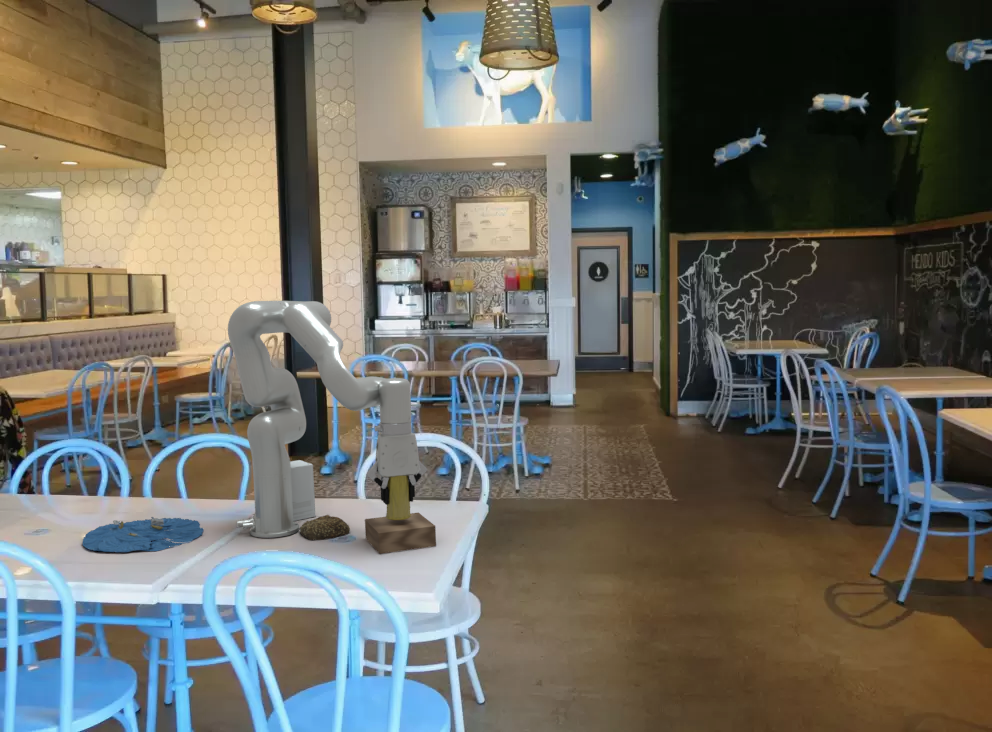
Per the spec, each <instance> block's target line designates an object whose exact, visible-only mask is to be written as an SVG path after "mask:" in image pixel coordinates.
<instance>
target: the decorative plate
mask: <svg viewBox="0 0 992 732" xmlns="http://www.w3.org/2000/svg"><path fill="white" fill-rule="evenodd" d="M112 522H113V523H109V524H105V525H101V526H100V525H99V526H98V527H96V528H95V529H93V530H90V531H88V532H87V533H85V535H84V537H83V539H82V546H83V547H84V548H86V549H88V550H90V551H92V550H93V552H97V551H98V552H104V553H114V552H115V553H130V552H133V551H144V552H158V551H164V550H165V549H169V548H174V547H178V546H179V547H180V546H181V545H183V544H184V545H185V544H189V543H191V542H193V541H194V540H195V539H198V538H199V537H202V536H203V532H204V528H203V527H200V526H201V524H200V522H199V521H198V520H194V519H193V520H192V519H189V518H181V517H173V518H171V517H164V518H163V517H162V518H158V517H153V516H151V518H150V519H141V520H140V519H139V520H132V521H126V522H124V521H123V520H121V521H120V520H117V519H115V520H113V521H112ZM151 541H152V542H151ZM169 546H170V547H169Z"/></svg>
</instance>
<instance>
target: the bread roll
mask: <svg viewBox="0 0 992 732" xmlns="http://www.w3.org/2000/svg"><path fill="white" fill-rule="evenodd" d="M350 532H351V528H350V525H349V524H348V523H347V522H345V521H344V520H343V519H342V518H340V517H338V516H334V515H333V516H330V514H326V515H322V516H318V517H316V518H314V519H311V520H306V521H305V522H304V523H303V524H301V526H300V529H299V533H300V534H301V536H302V537H304V538H306V539H308V540H309V541H322V540H328V539H335V538H339V537H343V536H347V535H349V534H350Z"/></svg>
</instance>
